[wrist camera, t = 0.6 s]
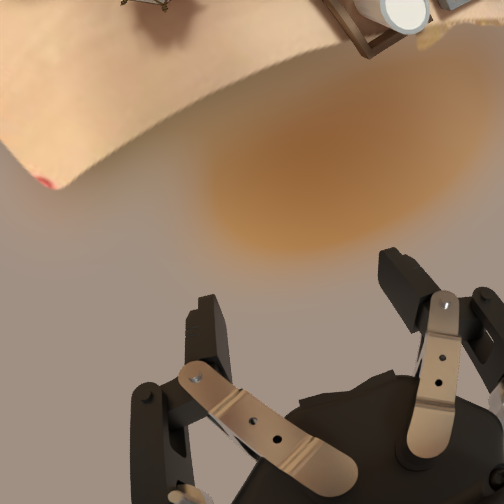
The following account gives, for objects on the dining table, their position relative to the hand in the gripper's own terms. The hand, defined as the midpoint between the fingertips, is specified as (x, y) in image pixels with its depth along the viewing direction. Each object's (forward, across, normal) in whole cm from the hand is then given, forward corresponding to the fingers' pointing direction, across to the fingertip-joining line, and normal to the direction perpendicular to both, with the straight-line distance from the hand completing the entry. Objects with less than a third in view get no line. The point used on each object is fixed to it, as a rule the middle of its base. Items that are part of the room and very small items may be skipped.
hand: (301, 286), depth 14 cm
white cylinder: (+24, -20, -17) cm, 36 cm away
